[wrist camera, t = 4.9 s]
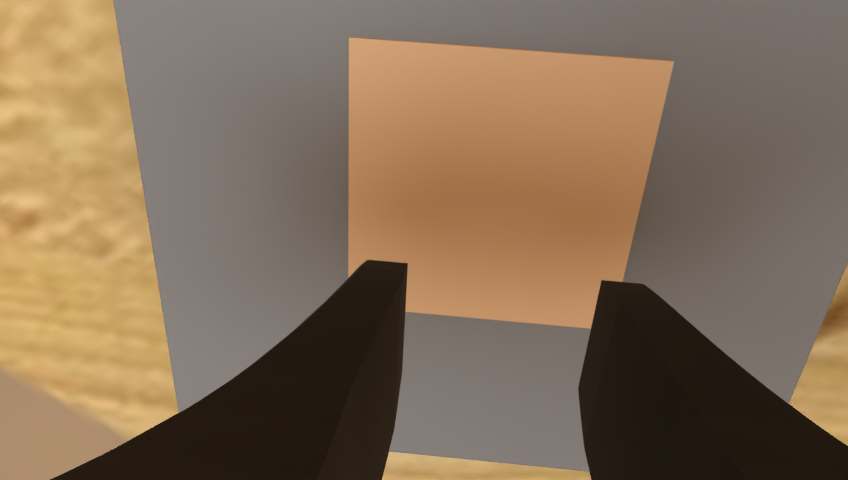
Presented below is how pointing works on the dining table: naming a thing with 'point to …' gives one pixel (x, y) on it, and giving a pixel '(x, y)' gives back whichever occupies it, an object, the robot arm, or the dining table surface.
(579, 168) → the grey flat square slab
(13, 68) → the dining table surface
